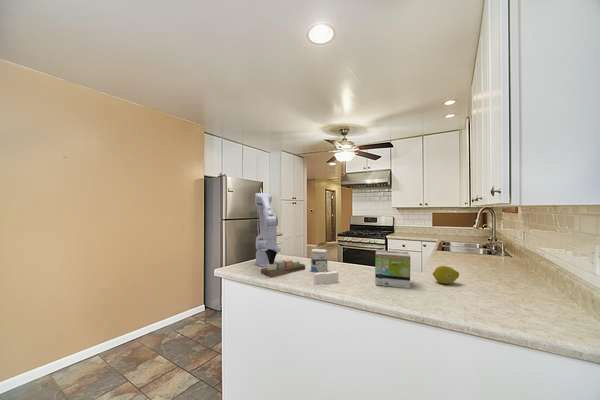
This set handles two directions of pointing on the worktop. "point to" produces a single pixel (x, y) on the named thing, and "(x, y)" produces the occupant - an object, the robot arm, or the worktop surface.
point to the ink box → (318, 260)
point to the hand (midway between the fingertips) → (271, 263)
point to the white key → (271, 266)
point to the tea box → (392, 268)
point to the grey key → (280, 264)
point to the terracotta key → (287, 262)
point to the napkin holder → (326, 278)
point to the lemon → (445, 274)
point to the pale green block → (295, 262)
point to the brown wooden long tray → (282, 270)
